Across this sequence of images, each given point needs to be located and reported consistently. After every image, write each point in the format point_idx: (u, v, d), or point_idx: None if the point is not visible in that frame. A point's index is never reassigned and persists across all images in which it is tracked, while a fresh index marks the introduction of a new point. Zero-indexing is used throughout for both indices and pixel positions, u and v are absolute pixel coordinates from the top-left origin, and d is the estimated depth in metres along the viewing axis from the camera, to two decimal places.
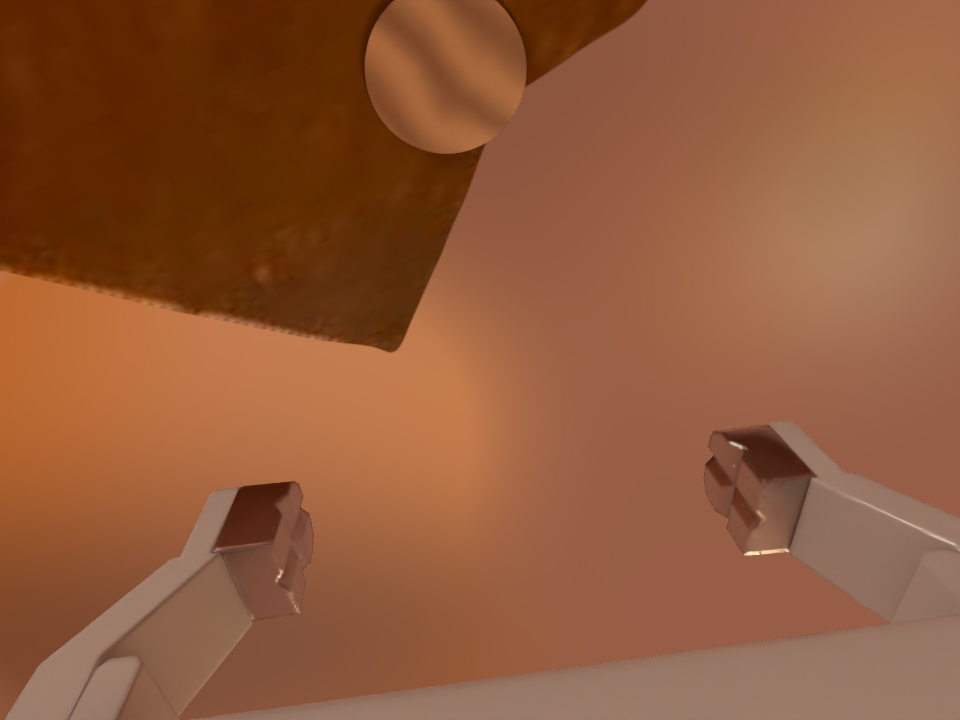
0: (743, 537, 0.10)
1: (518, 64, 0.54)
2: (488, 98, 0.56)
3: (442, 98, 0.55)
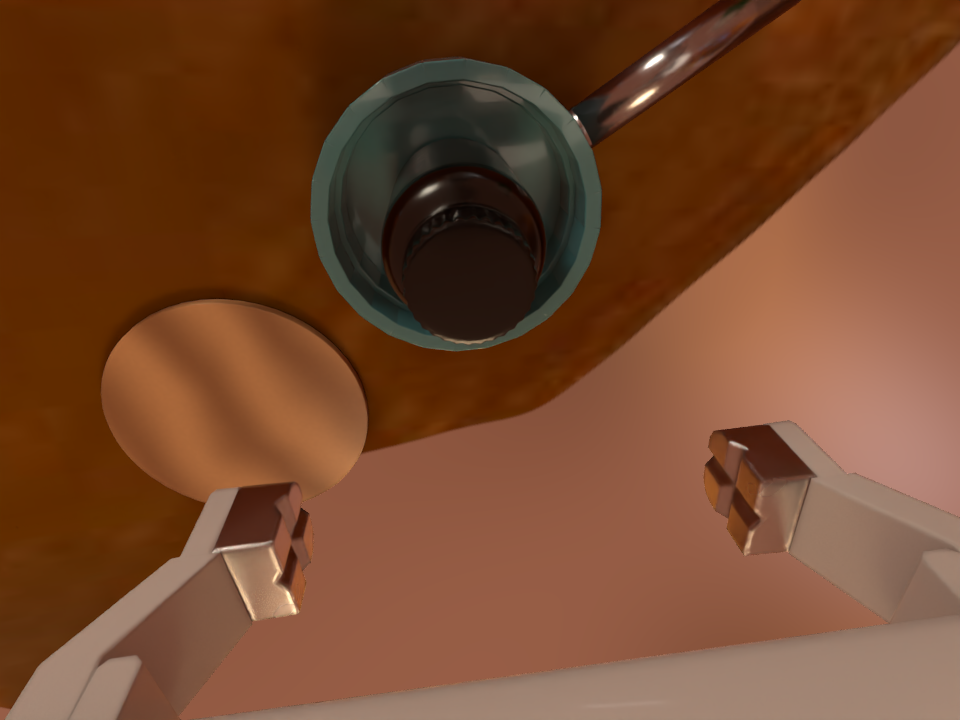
0: (744, 537, 0.10)
1: (354, 428, 0.36)
2: (301, 456, 0.36)
3: (228, 441, 0.35)
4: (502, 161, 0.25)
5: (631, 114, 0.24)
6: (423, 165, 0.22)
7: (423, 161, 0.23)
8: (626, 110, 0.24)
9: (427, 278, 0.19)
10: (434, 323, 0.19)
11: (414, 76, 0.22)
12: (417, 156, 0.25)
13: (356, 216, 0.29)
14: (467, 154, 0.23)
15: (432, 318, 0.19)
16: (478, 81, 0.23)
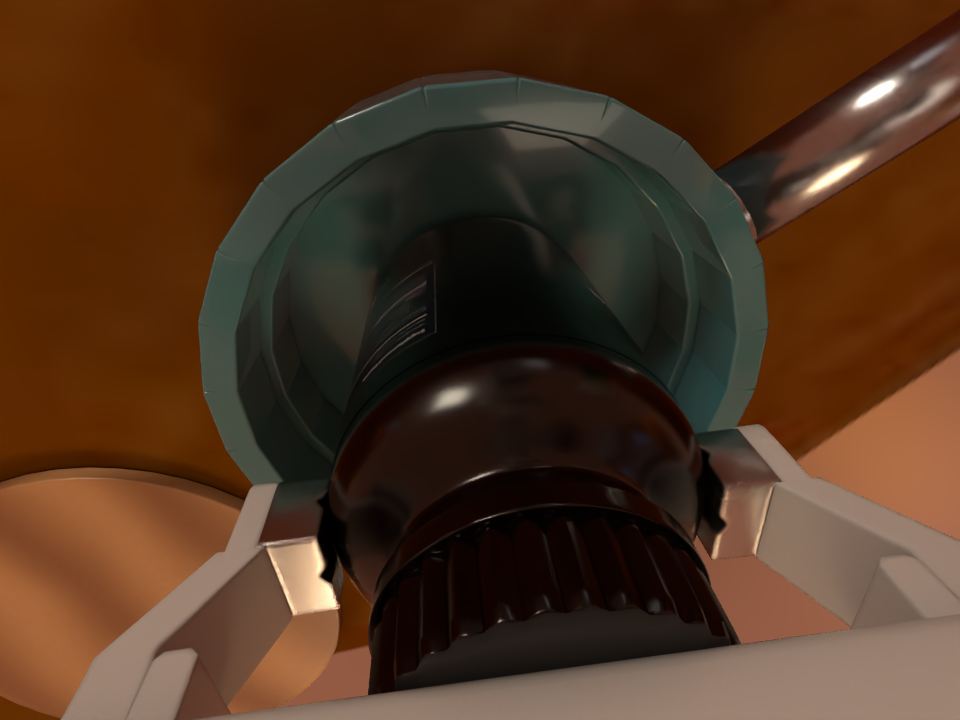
0: (711, 541, 0.10)
1: (319, 632, 0.23)
2: None
3: None
4: (580, 275, 0.13)
5: (843, 186, 0.12)
6: (426, 315, 0.10)
7: (425, 294, 0.11)
8: (836, 180, 0.12)
9: None
10: None
11: (405, 117, 0.10)
12: (413, 263, 0.13)
13: (309, 343, 0.17)
14: (522, 286, 0.10)
15: None
16: (544, 126, 0.10)
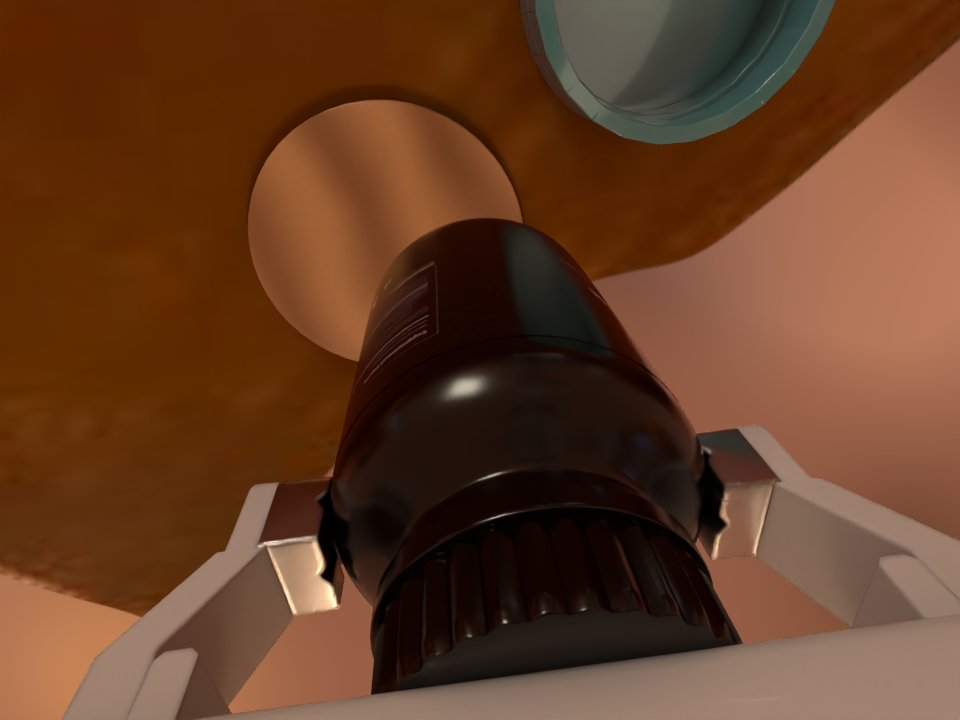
0: (710, 541, 0.10)
1: None
2: None
3: (373, 279, 0.33)
4: (581, 276, 0.13)
5: None
6: (427, 316, 0.10)
7: (427, 295, 0.11)
8: None
9: None
10: None
11: None
12: (414, 263, 0.13)
13: None
14: (523, 288, 0.10)
15: None
16: None
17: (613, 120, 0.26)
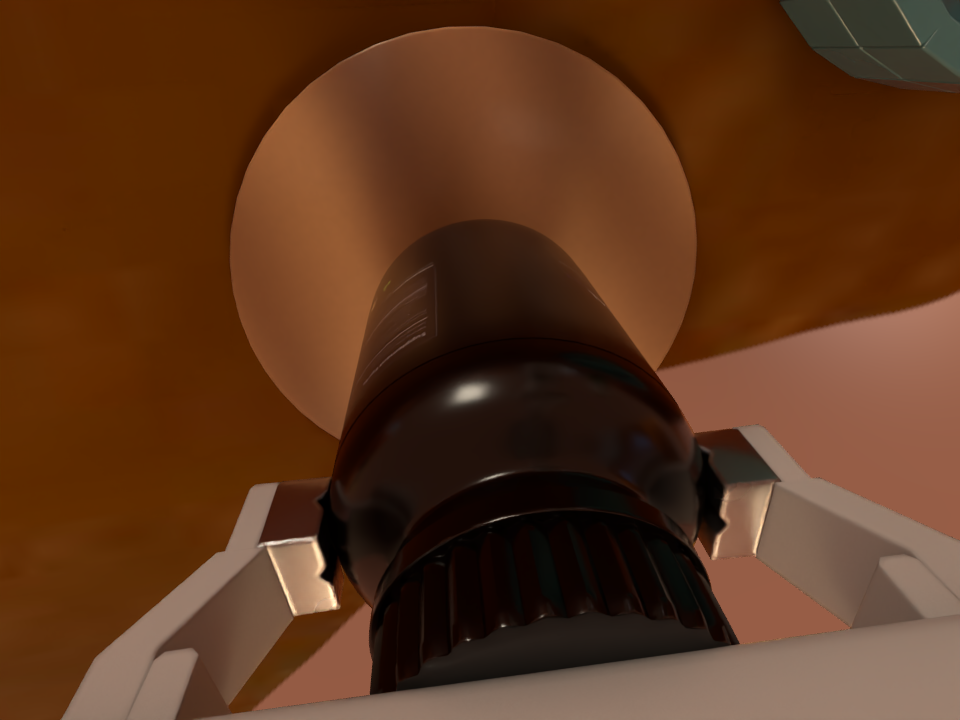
0: (711, 541, 0.10)
1: (661, 321, 0.20)
2: None
3: None
4: (580, 278, 0.13)
5: None
6: (426, 318, 0.10)
7: (426, 297, 0.11)
8: None
9: None
10: None
11: None
12: (414, 265, 0.13)
13: None
14: (522, 290, 0.10)
15: None
16: None
17: None
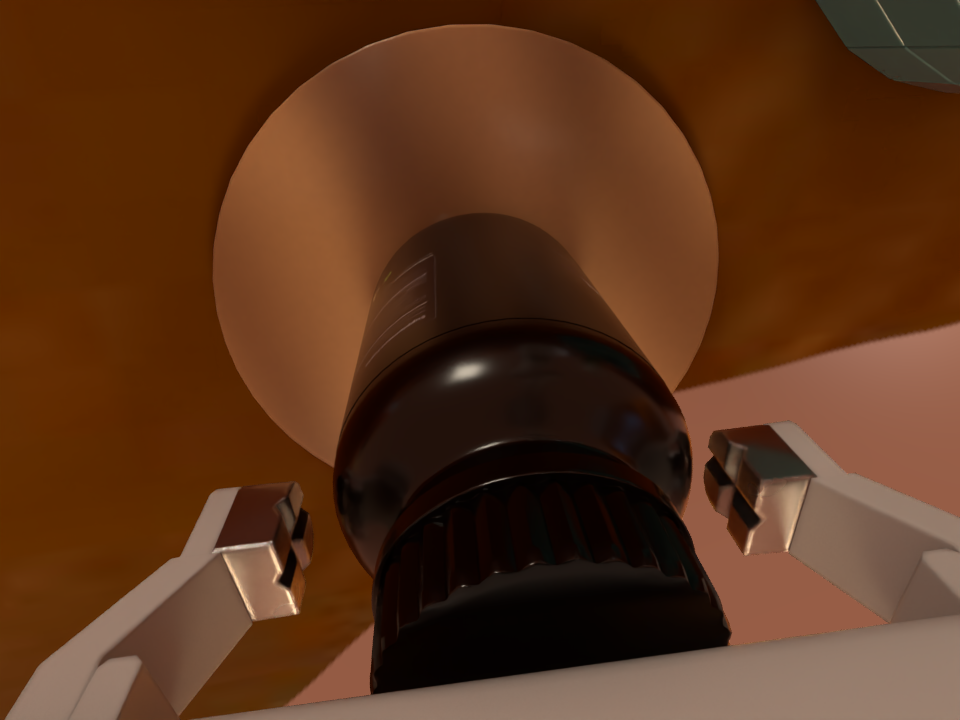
0: (743, 537, 0.10)
1: (679, 341, 0.19)
2: None
3: None
4: (574, 268, 0.13)
5: None
6: (426, 302, 0.10)
7: (426, 284, 0.11)
8: None
9: (439, 684, 0.07)
10: None
11: None
12: (414, 256, 0.14)
13: None
14: (518, 276, 0.11)
15: None
16: None
17: None
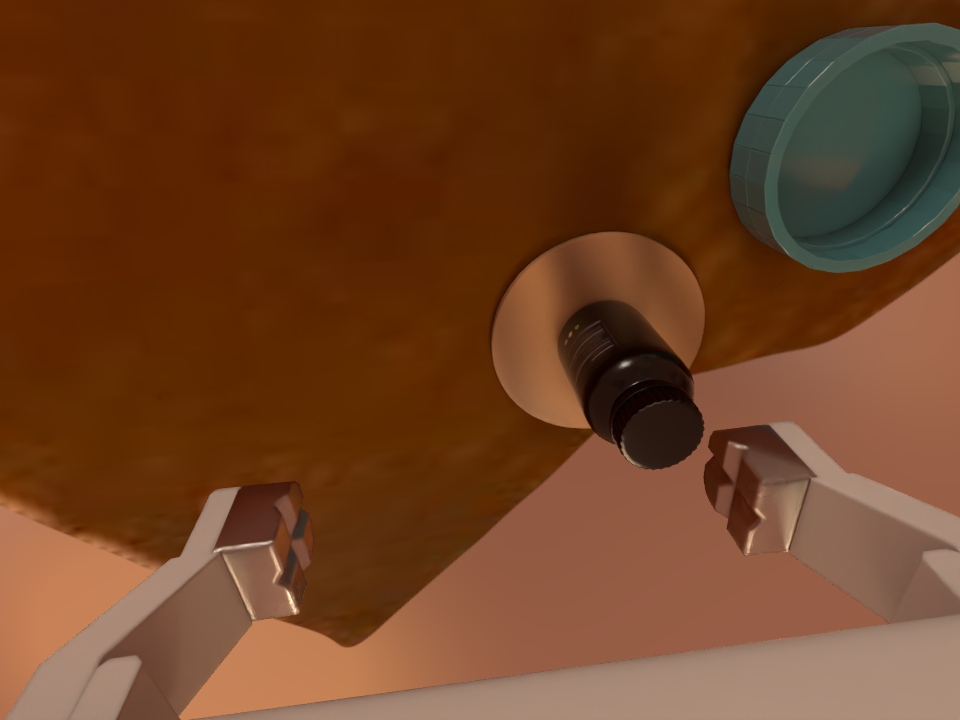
0: (744, 536, 0.10)
1: (687, 352, 0.41)
2: None
3: None
4: (651, 326, 0.36)
5: None
6: (610, 340, 0.33)
7: (605, 333, 0.34)
8: None
9: (637, 432, 0.29)
10: (635, 457, 0.30)
11: (893, 36, 0.28)
12: (590, 320, 0.36)
13: None
14: (638, 332, 0.33)
15: (634, 455, 0.30)
16: (938, 41, 0.29)
17: (806, 257, 0.34)
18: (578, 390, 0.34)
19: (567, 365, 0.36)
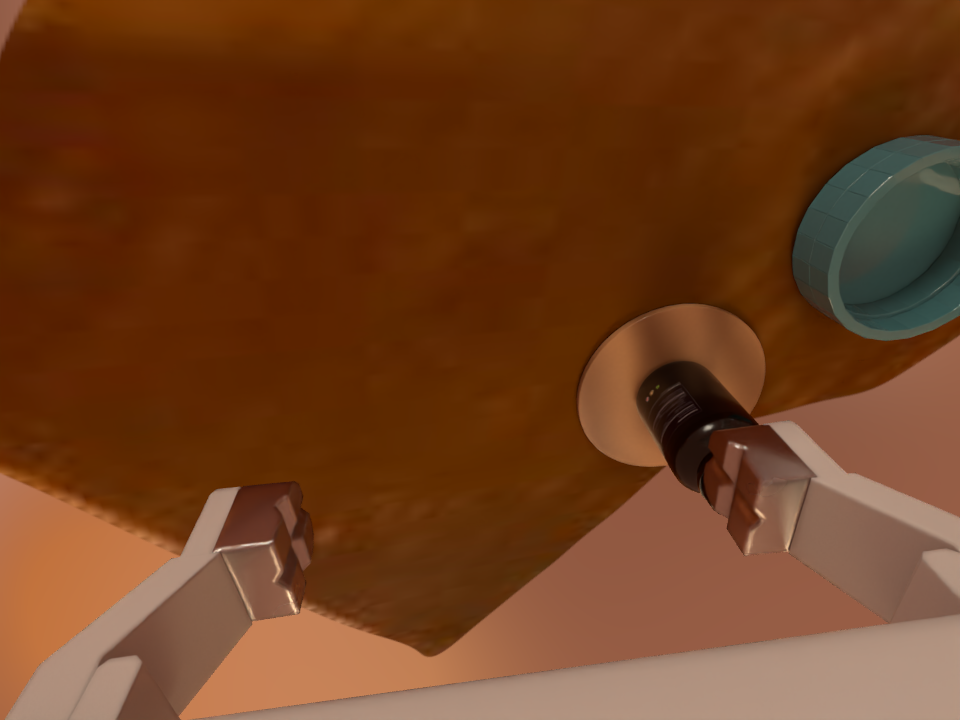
0: (743, 537, 0.10)
1: (748, 401, 0.47)
2: None
3: None
4: (723, 386, 0.41)
5: None
6: (694, 404, 0.39)
7: (687, 397, 0.40)
8: None
9: None
10: None
11: (942, 155, 0.34)
12: (670, 381, 0.42)
13: None
14: (717, 396, 0.39)
15: None
16: None
17: (861, 329, 0.39)
18: (665, 446, 0.39)
19: (650, 420, 0.42)
